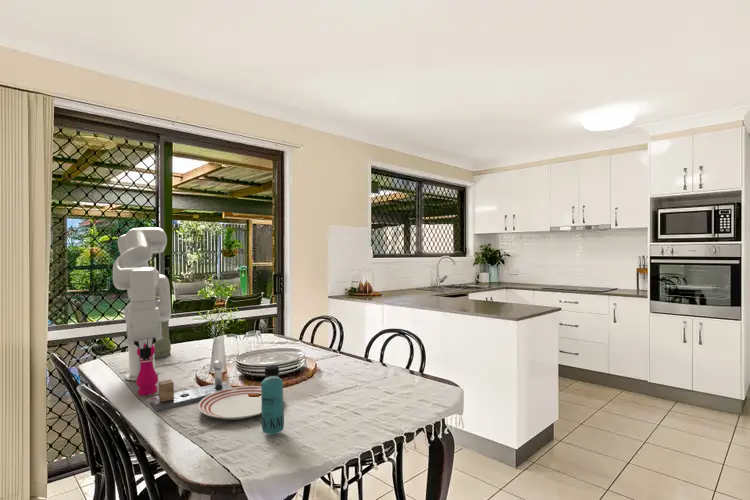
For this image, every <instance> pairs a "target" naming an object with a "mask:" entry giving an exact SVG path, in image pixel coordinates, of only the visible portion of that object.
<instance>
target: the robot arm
mask: <svg viewBox="0 0 750 500" xmlns="http://www.w3.org/2000/svg"><path fill="white" fill-rule="evenodd" d="M167 244H168V237H167V234H166V232H165V230H164V229H162V228H161V227H134V228H131V229H130V230H128V231H127V232H126V233H125V234H123V235H120V236H119V237H118V239H117V248H118V251H119V253H120V254H119V256H118V257H117V258H116V259H115V261H114V262H113V266H112V284H113V285H114V287H115V288H116V289H118V290H122V291H123V290H125V291H126V290H127V294H128V296H129V297H130V299H129V300H130V303H128V304H127V305H125V307H124V310H123V313H124V319H125V325H126V342H125V344H126V345H127V349H128V350H127V351H128V352H127V353H128V369H129V371H128V373H126V374H125V375H124V379H125V380H127V381H130V380H131V382H132V381H134V382H135V381H137V377H138V374H139V372H140V366H141V365H140V362H139V358H142V359H143V360H146V359H147V360H149V356H151V347H152V345H153V346H154V343H155V342H156V341H158V340H161V339H162V338H163V337H162V329H161V322H164V321H167V320H169V321H170V320H171V317H172V301H170V296H171V289H170V281H169V278H168V277H167V275H165V274H160V272H159V271H158V269H157V268H156V267H154V266H150V264H149V261H150V260H151V259H152V255H153V254H161V253H164V251H165V249H166V247H167ZM156 297H158V298H159V300H156ZM144 340H147V345H146V346H145V348H144V346H143V341H144ZM138 347H139V348H140V357H139V356H138V355H137V349H138ZM153 356H154V354H153ZM153 358H154V357H153ZM155 359H156V358H154V360H153V368H154V370H155V372H156V374H157V376H158V375H160V370H159V369H157V368H156V365H155V363H156V362H155Z"/></svg>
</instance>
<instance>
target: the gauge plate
mask: <svg viewBox="0 0 750 500" xmlns="http://www.w3.org/2000/svg"><path fill="white" fill-rule="evenodd" d="M223 367H224V363H223V362H222V361H220V360H216V361H214V362H213V364H212V368H213V370H214V383H212V384H209V385H204V386H200V387H195V388H192V389H186V390H182V391H177V392H174V399H172V400H168V401H164V402H161V400H160V399H159V396H156V397H151V399H150V400H151V401H150V402H151V405H152V406H153V407H154V408H155V410H156V412H160V411H165V410H168V408H169V409H173V408H177V407H180V406H186V405H189V404H192V403H193V404H194V403H196V402H200V401H201V400H202V399H203V398H205V397H206V396H208V395H210V394H212V393H215V392H218V391H221V390H225V389H229V388H234V387H232V386H231V385H230V384H229V383H228V382H226V381H223V377H222V376H223V375H222V370H223Z"/></svg>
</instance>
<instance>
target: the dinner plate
mask: <svg viewBox="0 0 750 500" xmlns="http://www.w3.org/2000/svg"><path fill="white" fill-rule="evenodd" d="M248 394H261V385H259V386H258V385H257V386H256V385H245V386H237V387H236V386H235V387H233V388H229V389H225V390H221V391H218V392H215V393H212V394H210V395H208V396H206V397H205V398H203V399H202V400H201V401H198V402H199V403H198V404H197V408H198V410H199V412H200V413H202V414H204V415H205V416H208V417H211V418H214V419H215V418H216V419H221V420H222V419H223V420H230V421H231V420H233V421H235V420H243V419H244V420H245V419H249V418H253V417H256V416H260V415H262V412H261V411H262V405H261V404H262V402H261V396H262V395H261V396H259V397H249V396H248Z"/></svg>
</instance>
